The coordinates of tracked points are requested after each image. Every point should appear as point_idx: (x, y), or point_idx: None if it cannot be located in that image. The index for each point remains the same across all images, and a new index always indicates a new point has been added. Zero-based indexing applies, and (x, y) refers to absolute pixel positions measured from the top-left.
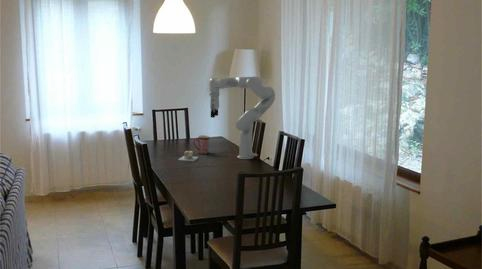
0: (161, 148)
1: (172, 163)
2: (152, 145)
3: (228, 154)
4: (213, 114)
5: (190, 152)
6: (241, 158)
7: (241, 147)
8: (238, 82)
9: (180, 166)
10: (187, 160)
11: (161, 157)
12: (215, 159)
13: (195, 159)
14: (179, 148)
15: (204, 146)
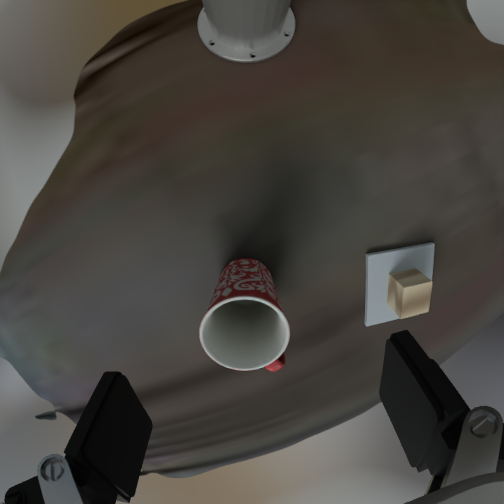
0: (248, 440)
1: (465, 299)
2: (221, 466)
3: (212, 134)
4: (449, 383)
5: (431, 282)
6: (294, 29)
7: (289, 6)
8: None
9: (493, 252)
10: (431, 270)
11: None
12: (364, 156)
13: (410, 247)
14: (212, 403)
15: (272, 285)
